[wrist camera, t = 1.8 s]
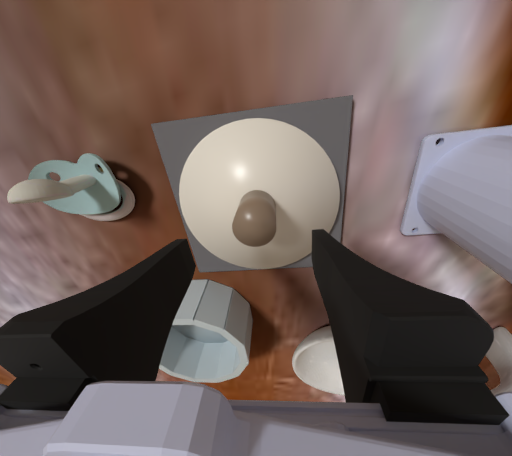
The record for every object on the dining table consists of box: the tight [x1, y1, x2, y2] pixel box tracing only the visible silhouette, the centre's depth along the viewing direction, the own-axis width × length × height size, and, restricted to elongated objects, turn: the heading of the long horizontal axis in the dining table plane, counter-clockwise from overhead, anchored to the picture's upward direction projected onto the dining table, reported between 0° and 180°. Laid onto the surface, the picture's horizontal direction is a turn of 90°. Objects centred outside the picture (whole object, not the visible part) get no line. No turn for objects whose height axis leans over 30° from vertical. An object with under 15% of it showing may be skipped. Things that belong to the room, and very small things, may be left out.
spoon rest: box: [292, 326, 512, 396], centre depth 23 cm, size 24×12×7 cm, turn 99°
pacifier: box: [7, 153, 135, 221], centre depth 16 cm, size 7×6×6 cm
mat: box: [151, 95, 353, 272], centre depth 18 cm, size 14×14×1 cm
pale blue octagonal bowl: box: [159, 280, 253, 382], centre depth 24 cm, size 11×11×5 cm
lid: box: [179, 118, 340, 269], centre depth 16 cm, size 13×13×4 cm
